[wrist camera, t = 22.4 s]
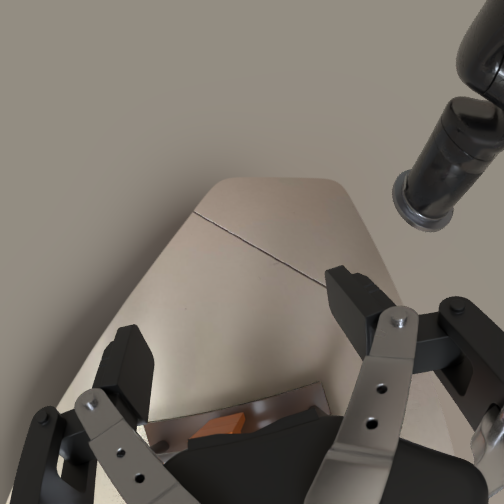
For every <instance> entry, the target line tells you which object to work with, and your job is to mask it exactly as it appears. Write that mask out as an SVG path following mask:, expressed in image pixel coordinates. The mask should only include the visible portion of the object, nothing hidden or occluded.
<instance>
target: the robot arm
mask: <svg viewBox="0 0 504 504" xmlns="http://www.w3.org/2000/svg"><path fill="white" fill-rule="evenodd" d="M456 69H457V73H458V75H459V78H460V79H461V80H462V82H463V83H465V84H466V85H467V86H468V87H469V88H470V89H472V90H473V91H475V92H477V93H478V94H480V95H481V96H483V97H484V98H485V99H487V100H489V101H485V100H478V99H473V98H469V97H455V98H453V99H451V100H450V101H449V102H448V104H447V106H446V107H445V109H444V111H443V113H442V115H441V117H440V119H439V121H438V123H437V124H436V126H435V129H434V130H433V132H432V134H431V136H430V138H429V140H428V142H427V143H426V145H425V147H424V149H423V150H422V152H421V154H420V156H419V157H418V159H417V161H416V162H415V164H414V166H413V168H412V169H411V171H410V173H409V174H408V176H407V174H406V176H405V180H404V182H403V184H402V187H401V195H402V199H403V201H404V203H405V205H406V207H407V208H408V209H409V211H410V212H411V213H412V214H414V215H415V216H416V217H418V218H419V219H421V220H423V221H427V222H437V221H440V220H441V219H443V218H444V217H445V216H446V215H447V213H448V212H449V210H450V209H451V208H452V207H453V206H454V205H455V204H456V203H457V202H458V201H459V200H460V199H461V197H462V196H463V195H464V194H465V193H466V192H467V191H468V190H469V188H470V187H471V186H472V185H473V184H474V183H475V182H476V180H477V179H478V178H479V177H480V176H481V174H482V173H483V172H484V171H485V170H486V168H487V167H488V166H489V165H490V163H491V162H492V161H493V160H494V158H495V157H496V156H497V155H498V154H499V153H500V152H502V151H503V150H504V0H487V1H486V2H485V4H484V6H483V7H482V9H481V10H480V12H479V13H478V15H477V16H476V18H475V19H474V21H473V23H472V24H471V26H470V27H469V29H468V31H467V33H466V34H465V36H464V38H463V40H462V42H461V44H460V47H459V50H458V53H457V58H456ZM325 280H326V287H327V294H328V301H329V306H330V309H331V312H332V314H333V316H334V318H335V319H336V321H337V322H338V324H339V325H340V327H341V328H342V330H343V331H344V333H345V334H346V336H347V337H348V339H349V341H350V342H351V344H352V345H353V347H354V348H355V350H356V351H357V353H358V354H359V356H360V357H361V359H362V361H363V363H362V366H361V370H360V373H359V376H358V379H357V382H356V385H355V388H354V391H353V393H352V396H351V399H350V402H349V405H348V407H347V410H346V413H345V415H344V416H337V415H322V416H318V415H317V412H316V410H315V408H312V409H309V410H305V411H302V412H299V413H296V414H293V415H289V416H286V417H283V418H281V419H279V420H277V421H275V422H273V423H271V424H269V425H267V426H265V427H263V428H261V429H259V430H257V431H255V432H252V433H237V434H213V435H208V436H202V437H197V438H191V439H187V442H188V448H187V449H185V450H183V451H181V452H179V453H177V454H176V455H174V456H173V457H171V458H170V459H169V460H168V461H166V462H165V463H164V462H163V461H162V460H161V459H160V458H159V457H158V456H157V455H156V454H155V452H154V451H153V450H152V449H151V448H150V447H149V446H148V444H147V443H146V442H145V441H144V440H143V439H142V437H141V436H140V435H139V434H138V433H137V432H136V430H137V426H140V425H147V424H148V415H149V405H150V396H151V388H152V380H153V372H154V358H153V355H152V352H151V350H150V348H149V347H148V345H147V343H146V341H145V339H144V337H143V335H142V334H141V332H140V330H139V328H138V326H137V325H135V324H133V325H129V326H125V327H121V328H118V330H117V333H116V336H115V339H114V341H112V342H110V344H109V345H108V346H107V347H106V349H105V350H104V353H103V356H102V360H101V362H100V365H99V368H98V371H97V374H96V377H95V380H94V383H93V386H92V389H89V390H87V391H85V392H84V393H82V394H81V395H80V396H79V397H78V399H77V400H76V402H75V407H74V408H75V409H72V410H70V411H67V412H65V413H62V414H60V413H59V412H58V411H57V409H56V408H54V407H52V406H47V407H44V408H42V409H41V410H39V411H38V412H37V413H36V414H35V415H34V417H33V419H32V422H31V425H30V428H29V431H28V434H27V437H26V441H25V444H24V447H23V451H22V454H21V458H20V462H19V466H18V469H17V473H16V477H15V481H14V486H13V490H12V495H11V500H10V504H94V490H95V478H96V468H97V460H98V461H99V463H100V465H101V466H102V468H103V469H104V471H105V473H106V474H107V476H108V477H109V479H110V480H111V482H112V483H113V485H114V486H115V488H116V489H117V491H118V492H119V494H120V495H121V496H122V498H123V499H124V501H125V502H126V503H127V504H488V500H489V498H490V497H492V496H493V495H495V494H496V493H498V492H499V491H500V490H502V489H503V488H504V332H503V331H502V330H501V329H500V328H499V327H498V326H497V325H496V324H495V323H494V322H493V321H492V320H491V319H490V318H488V316H487V315H485V314H484V313H483V312H482V311H481V310H480V309H479V308H478V307H477V306H476V305H475V304H473V303H472V302H471V301H470V300H468V299H466V298H463V297H459V296H455V297H449V298H446V299H444V300H443V301H442V302H441V303H440V305H439V312H434V313H429V314H422V315H418V314H417V313H416V312H415V311H414V310H413V309H411V308H409V307H406V306H396V305H395V304H394V303H393V302H392V301H391V300H390V299H389V298H388V296H387V295H386V294H385V293H384V292H383V291H382V290H380V289H379V287H377V286H376V285H374V283H373V282H372V281H371V280H370V279H369V278H368V277H367V276H365V275H362V274H360V273H355V274H351V273H350V272H349V271H348V270H347V269H346V268H345V267H344V266H343V265H341V266H338V267H335V268H332V269H329V270H326V271H325ZM428 371H434V373H435V374H436V376H437V377H438V378H439V380H440V381H441V383H442V384H443V385H444V387H445V388H446V390H447V391H448V393H449V394H450V395H451V397H452V398H453V400H454V401H455V403H456V404H457V406H458V407H459V409H460V410H461V412H462V413H463V415H464V416H465V418H466V419H467V421H468V422H469V424H470V425H471V427H472V428H473V430H474V432H475V433H474V435H473V437H472V439H471V450H472V453H473V456H474V465H473V464H472V463H470V462H468V461H466V460H464V459H461V458H458V457H455V456H451V455H448V454H445V453H442V452H439V451H436V450H433V449H430V448H427V447H424V446H421V445H419V444H416V443H413V442H410V441H408V440H405V439H402V438H400V432H401V428H402V424H403V419H404V415H405V410H406V405H407V400H408V395H409V389H410V384H411V378H412V374H417V373H422V372H428ZM59 455H60V456H61V457H63V458H64V463H63V469H62V474H61V478H60V476H59V475H58V473H57V462H58V457H59Z"/></svg>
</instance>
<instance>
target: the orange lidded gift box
mask: <svg viewBox="0 0 504 504" xmlns="http://www.w3.org/2000/svg"><path fill="white" fill-rule="evenodd" d="M244 422H245V416H244V413H243V412H242V413H237V414H233V415H229V416H225V417H220V418H215V419H211V420H210V421H208V422H207V423H206V424H205V425H204V426H203V427H202V428H201V429H200V430H199V431H198V432H196V433H195V434H194V435H193V436H192V437H191V438H197V437H202V436H208V435H213V434H237V433H241V429H242V427H243V424H244ZM191 438H190V439H191Z"/></svg>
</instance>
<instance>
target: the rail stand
mask: <svg viewBox="0 0 504 504" xmlns="http://www.w3.org/2000/svg"><path fill="white" fill-rule="evenodd" d="M312 408H315V410H316V412H317V415H318V416H322V415H331V412H330V409H329V405H328V402H327V399H326V396H325V392H324V389H323V386H322V383H321V381H318V382H315V383H312V384H309V385H306V386H303V387H300V388H297V389H294V390H291V391H287V392H284V393H281V394H277V395H274V396H270V397H267V398H263V399H259V400H256V401H252V402H248V403H244V404H240V405H236V406H232V407H228V408H223V409H219V410H215V411H210V412H205V413H200V414H195V415H190V416H185V417H179V418H173V419H168V420H161V421H155V422H148V424H147V425H144V428H145V432H146V435H147V438H148V441H149V445H150V448H151V449H152V450H153V451H154V452H155V454H156V455H157V456H158V457H159V458H160V459H161V460H162V461H163V462H164V463H165V462H166V461H168V460H169V459H170V458H171V457H173V456H174V455H176V454H177V453H179V452H181V451H183V450H185V449H187V448H188V442H187V439H190V438H191V437H192V436H193V435H194V434H195V433H196V432H198V431H199V430H200V429H201V428H202V427H203V426H204V425H205V424H206V423H207V422H208V421H210V420H211V419H215V418H220V417H225V416H229V415H233V414H237V413H242V412H243V413H244V416H245V422H244V424H243V427H242V429H241V433H252V432H255V431H257V430H259V429H261V428H263V427H265V426H267V425H269V424H271V423H273V422H275V421H277V420H279V419H281V418H283V417H286V416H289V415H293V414H296V413H299V412H302V411H305V410H309V409H312Z"/></svg>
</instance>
